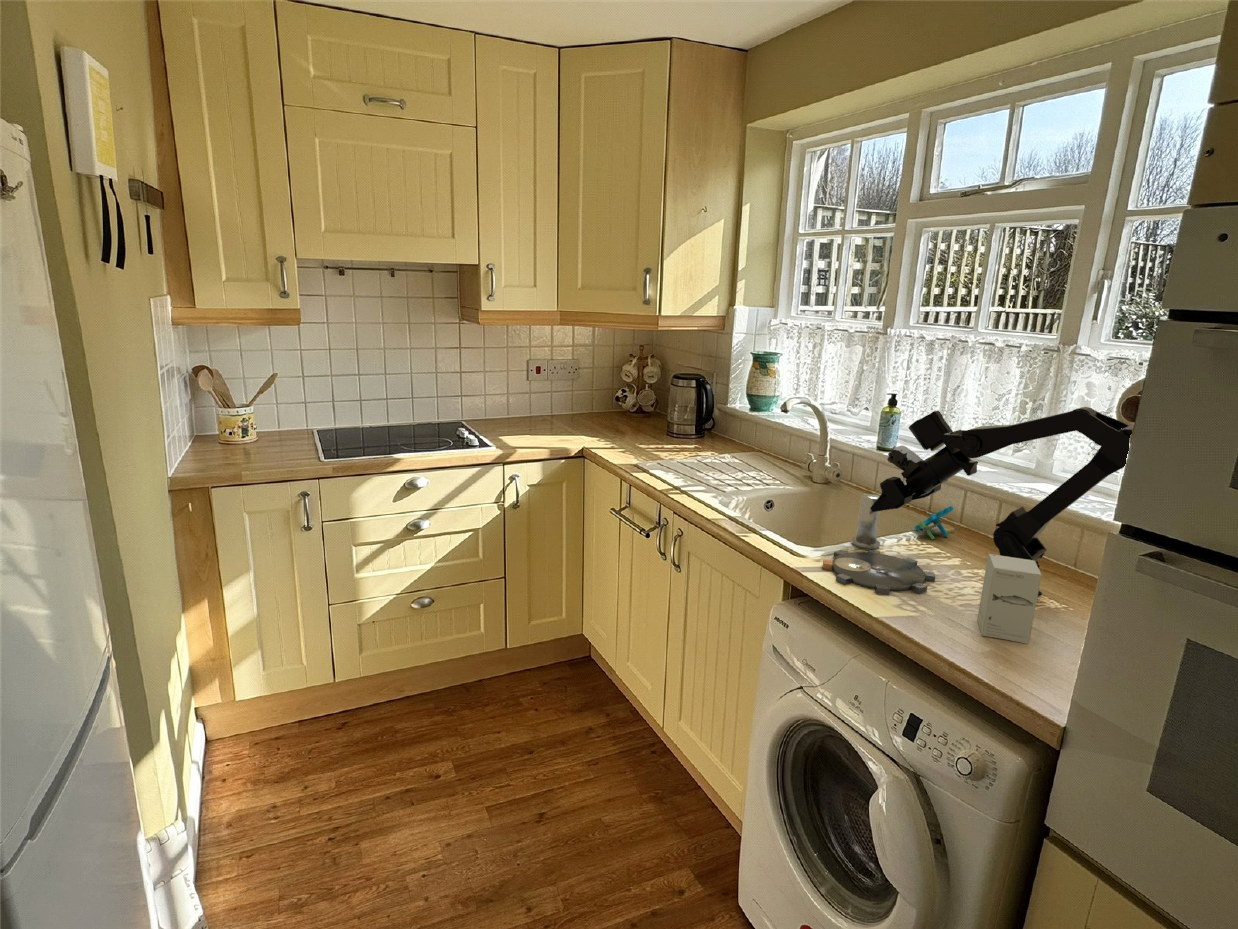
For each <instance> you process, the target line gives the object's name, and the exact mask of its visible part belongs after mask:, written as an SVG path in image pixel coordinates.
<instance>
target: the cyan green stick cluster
mask: <svg viewBox="0 0 1238 929" xmlns="http://www.w3.org/2000/svg"><path fill="white" fill-rule="evenodd" d="M954 509H955V507H954V506H953V505H951V506H947V507H946V508H944V509H943V510H940V511H937V512H936V513H935V514H934V513H931V514H930V515H929V517H928V518H927V519H925V520H923V521H920V522H918V525H915V527H914V530H916V532H917V531H919V530H922V531H923V533H925V532H926V533H927V535H928V536H929V538H930V539H931V540H934V539H935V536H934V535H933V534H932V532H931V529H934V528H936V527H937V528H938V529H939V532H941V534H942V535H943V537H944V538H945V537H948V536H949V533H948V532H947V530H946V529H945V528H944V526H943V525H942V521H941V518H943V517H945V516H947V515H948V514H949V513H951V512H953V511H954ZM931 524H933V525H931Z"/></svg>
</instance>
